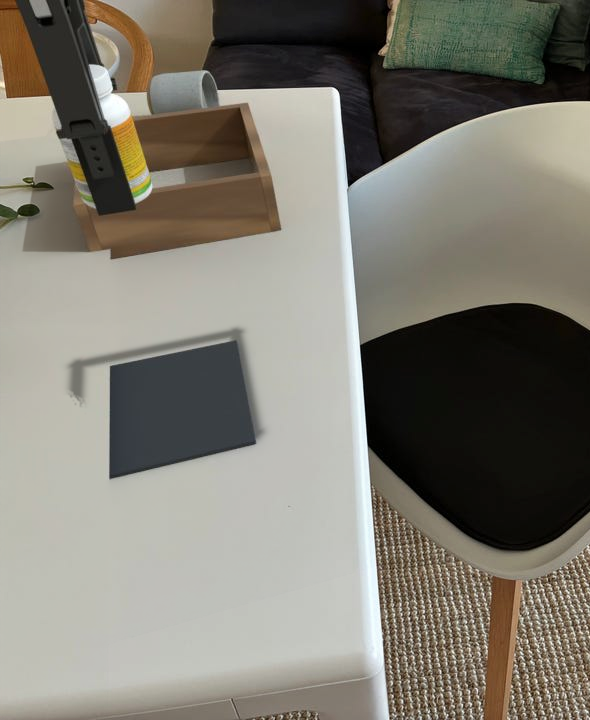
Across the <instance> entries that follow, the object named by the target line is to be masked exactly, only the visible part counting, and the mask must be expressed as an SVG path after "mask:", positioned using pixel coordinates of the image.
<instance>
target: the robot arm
mask: <svg viewBox="0 0 590 720" xmlns="http://www.w3.org/2000/svg"><path fill="white" fill-rule="evenodd" d="M14 2H15V4H16V6H17V9H18V11H19V14H20V16H21V18H22V20H23V21H22V22H23V23H24V25H25V28H26V30H27V34H28V36H29V39H30V42H31V44H32V48H33V50H34V53H35V56H36V58H37V62H38V64H39V66H40V70H41V73H42V75H43V78H44V81H45V83H46V87H47V89H48V93H49V95H50V98H51V100H52V103H53V106H54V107H55V109H56V112H57V115H58V117H59V120H60V123H61V126H62V127H61V129H58V130H57V131H56V130H55V134H56V136H57V138H58V139H59V140H60V139H65V138H66V139H71V140H72V143H73V146H74V148H75V151H76V154H77V157H78V159H79V162H80V165H81V168H82V171H83V173H84V176H85V179H86V182H87V184H88V187H89V190H90V193H91V196H92V198H93V201H94V204H95V207H96V209H97V212H98V215H99V216H101V215H108V214H114V213H120V212H126V211H132V210H136V204H135V201H134V198H133V195H132V192H131V188H130V185H129V182H128V179H127V176H126V173H125V170H124V167H123V164H122V160H121V157H120V154H119V151H118V148H117V145H116V142H115V139H114V136H113V132H112V129H111V126H108V122H107V120H105V118H104V115H103V111H102V108H101V104H100V101H99V97H98V94H97V91H96V87H95V84H94V80H93V77H92V73H91V70H90V67H89V65H99V66H102V67H104V68H106V67H105V64H104V63H103V62H102V58H101V56H100V53H99V49H98V46H97V44H96V41H95V37H94V34H93V31H92V27H91V23H90V21H89V18H88V15H87V12H86V7H85V0H14ZM110 80H111V82H112V87H113V90H112V92H114V91H118V85H117V80H116V78H115V77H110Z"/></svg>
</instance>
